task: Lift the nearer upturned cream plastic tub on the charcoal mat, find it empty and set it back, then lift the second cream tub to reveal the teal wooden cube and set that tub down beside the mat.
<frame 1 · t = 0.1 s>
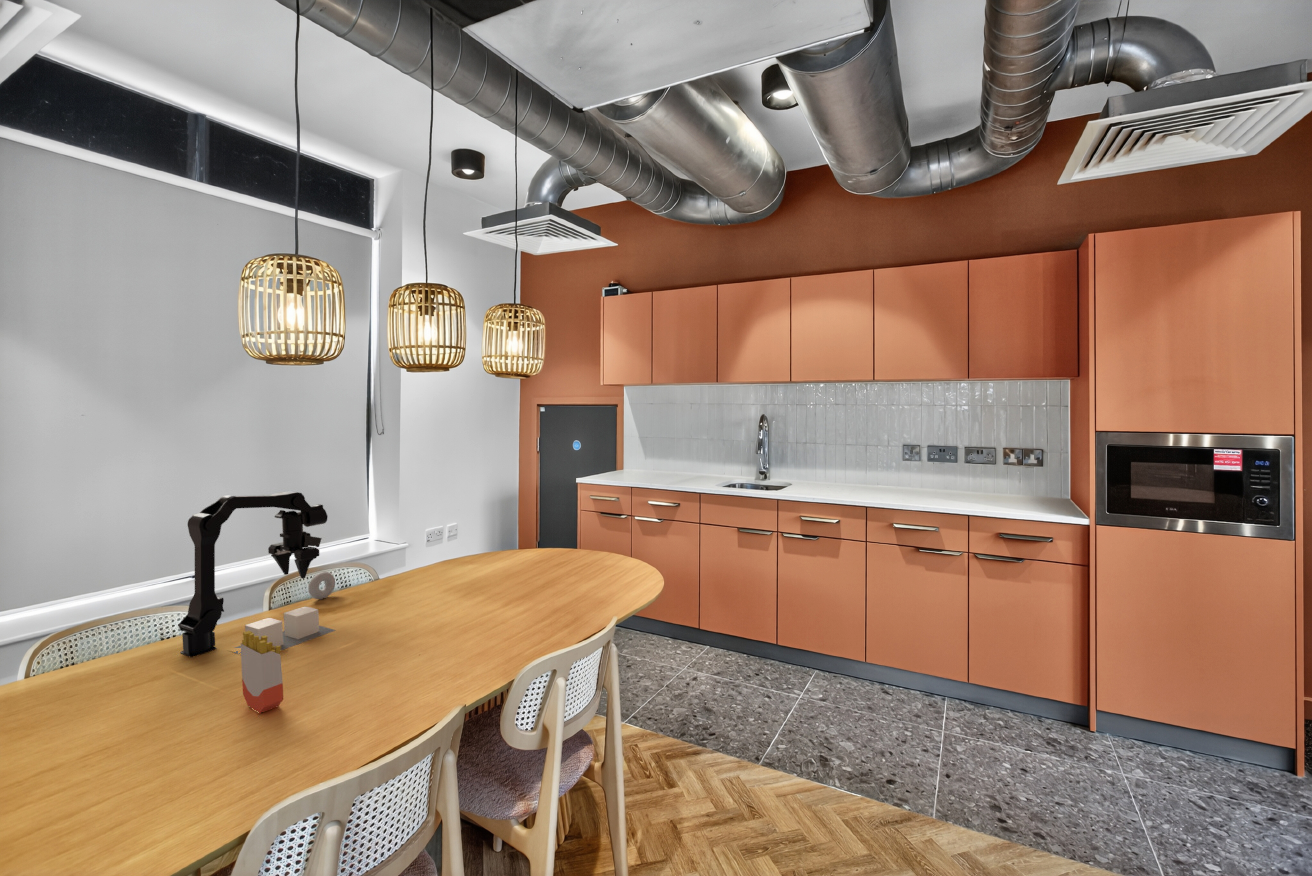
hand: (294, 576, 194), 15 cm above the table, tool pointing down, fingers open, 9 cm apart
tub b: (302, 633, 183), resting on mat
tub a: (264, 646, 173), resting on mat
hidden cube: (301, 626, 182), in the tub b, touching mat
mat: (283, 640, 178), on the table
donut: (322, 599, 215), on the table
french fries container: (264, 707, 140), on the table
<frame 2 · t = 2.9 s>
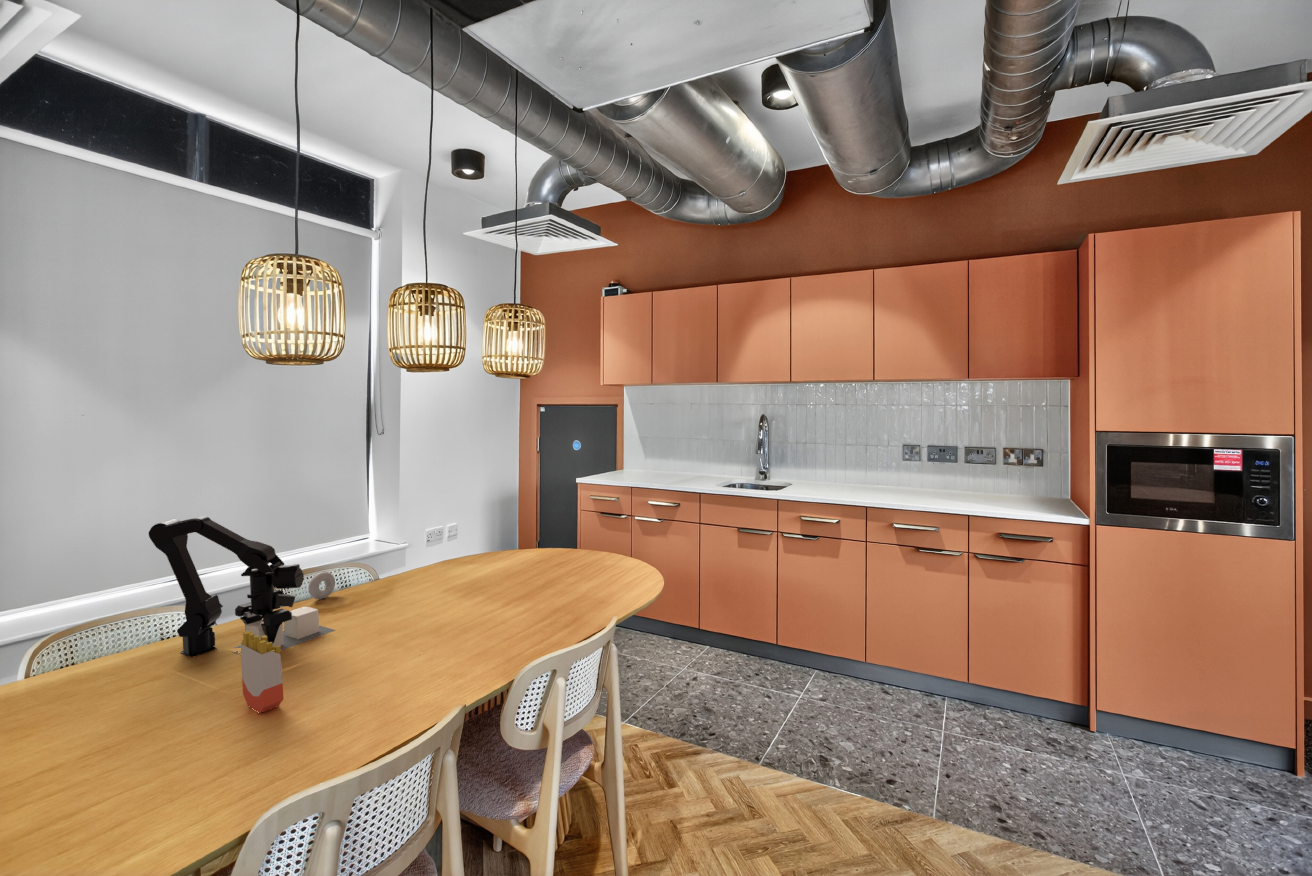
hand: (264, 641, 173), 2 cm above the table, tool pointing down, fingers closed on tub a, 7 cm apart
tub a: (264, 646, 173), resting on mat, touching gripper
everything else where it was.
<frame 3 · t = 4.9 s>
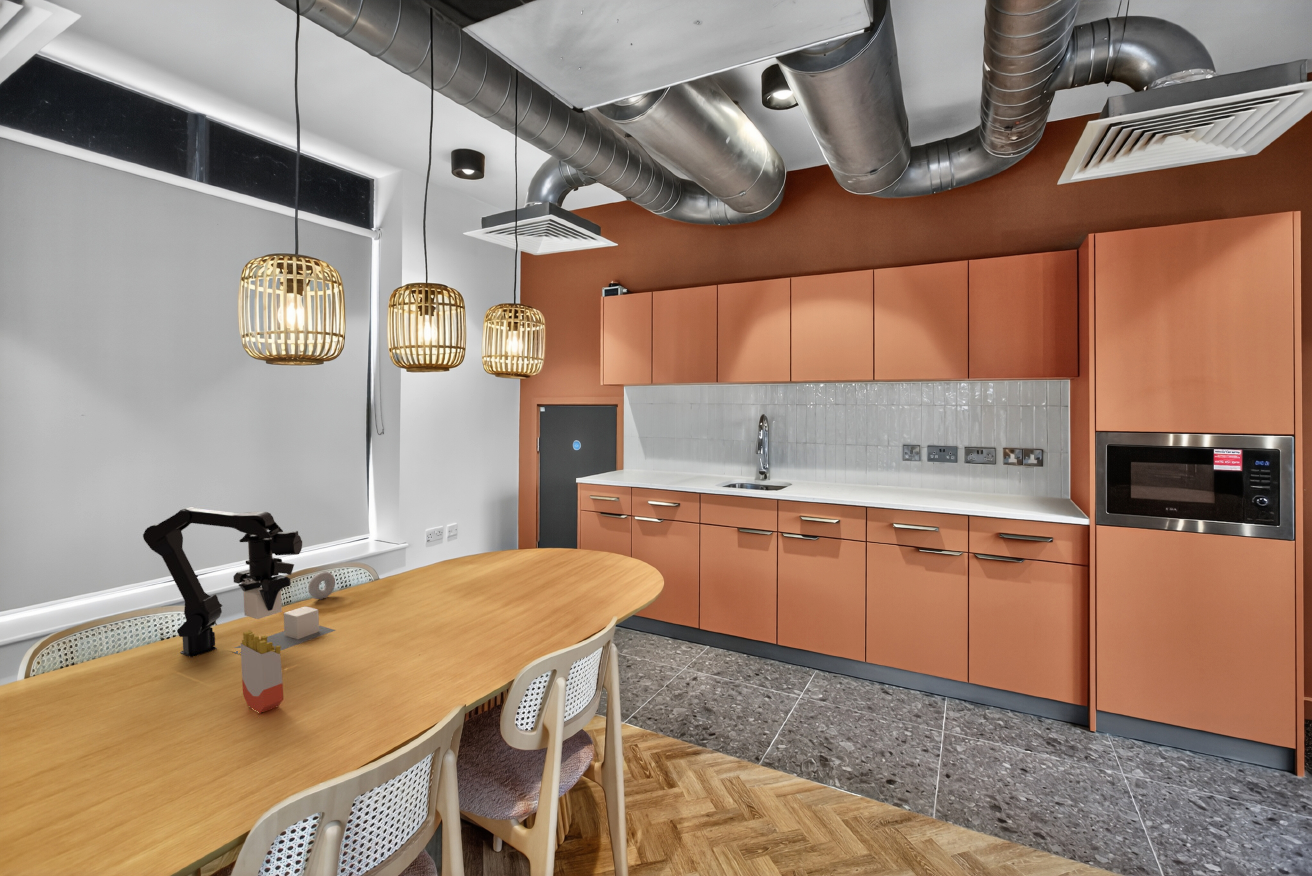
hand: (263, 608, 172), 12 cm above the table, tool pointing down, fingers closed on tub a, 7 cm apart
tub a: (263, 613, 172), point 10 cm above the table, touching gripper
everything else where it was.
when the fingers open (3 cm above the table, at t = 7.3 s): tub a drops 1 cm, resting on mat.
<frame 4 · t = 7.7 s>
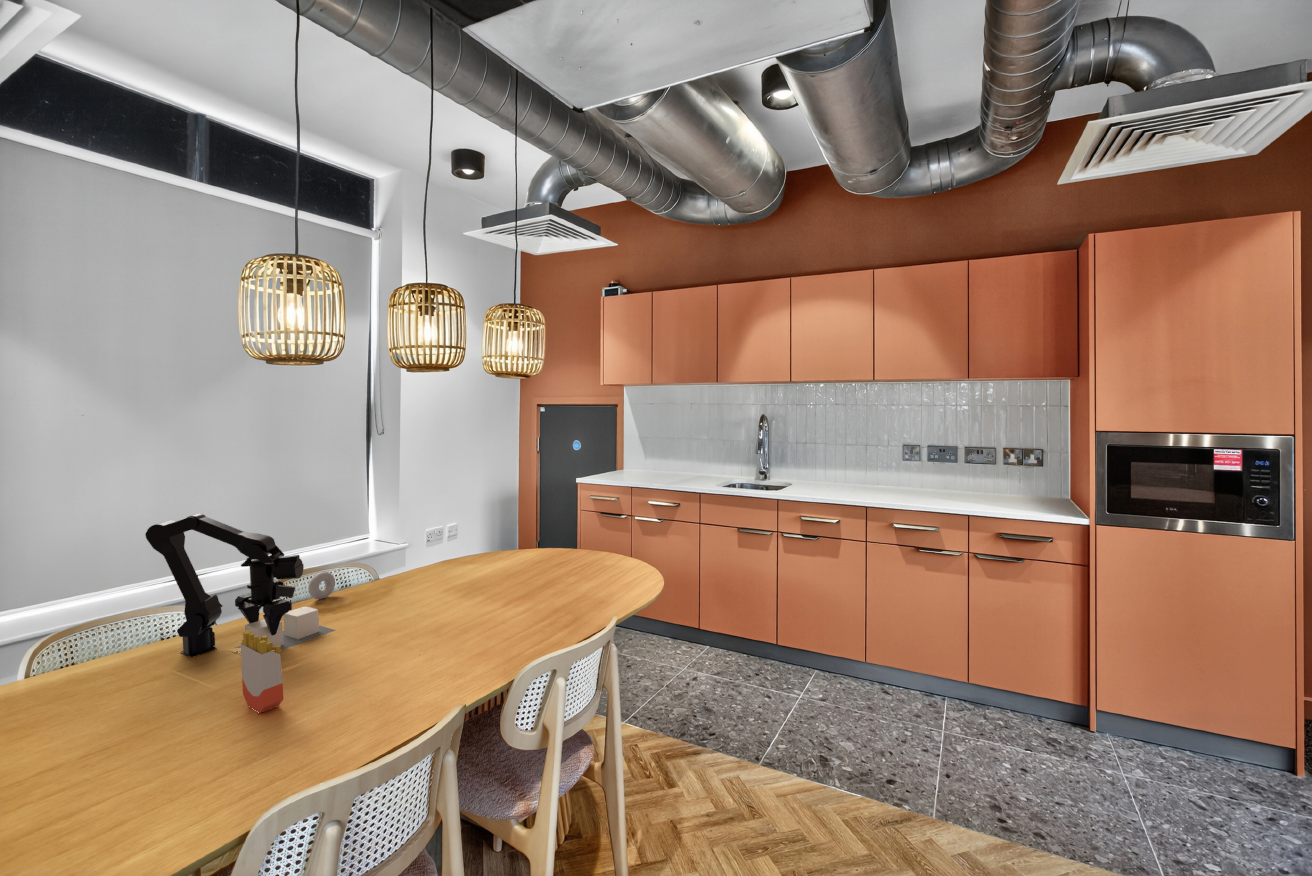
hand: (264, 632, 173), 5 cm above the table, tool pointing down, fingers open, 9 cm apart
tub a: (264, 646, 173), resting on mat
everything else where it was.
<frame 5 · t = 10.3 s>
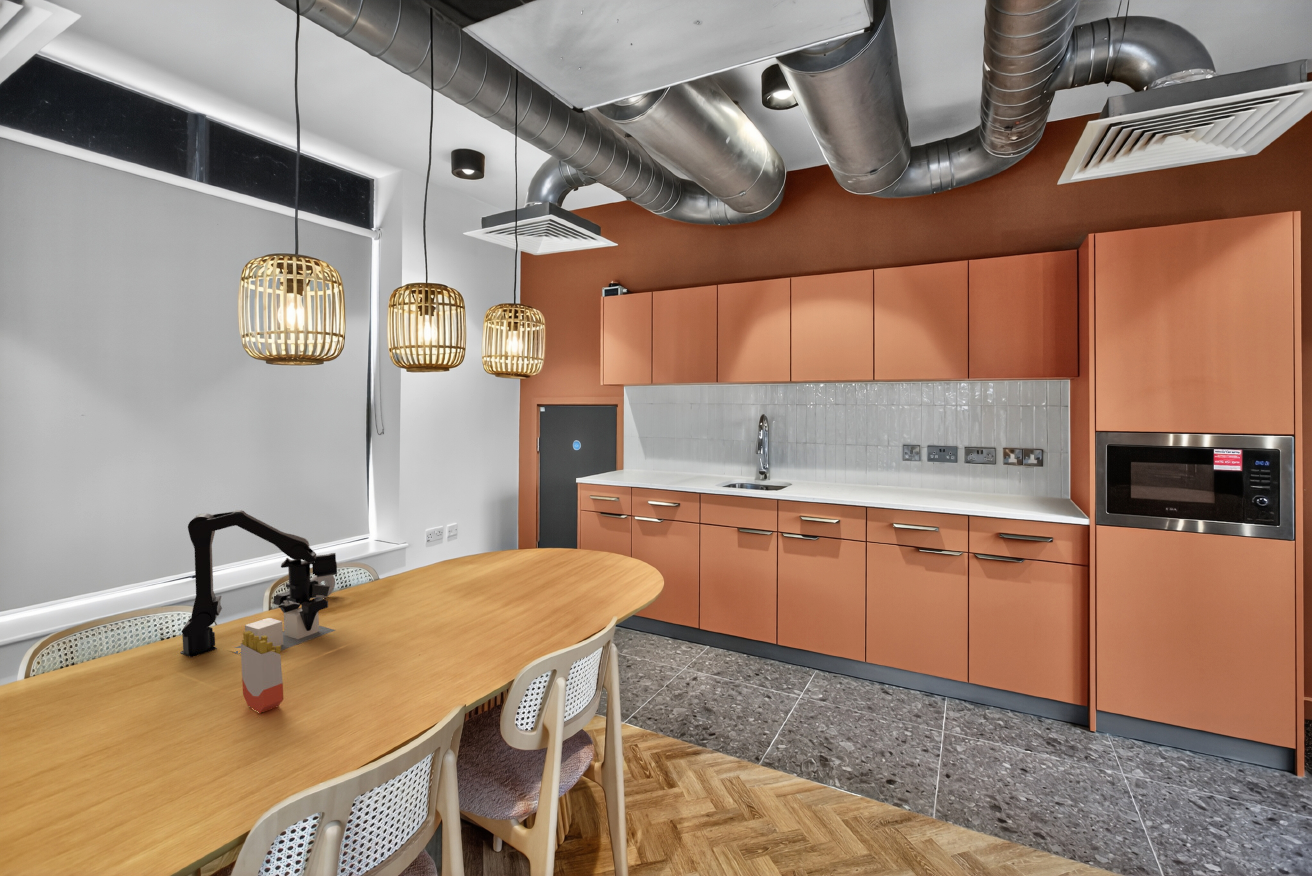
hand: (301, 628, 183), 2 cm above the table, tool pointing down, fingers closed on tub b, 7 cm apart
tub b: (302, 633, 183), resting on mat, touching gripper
everything else where it was.
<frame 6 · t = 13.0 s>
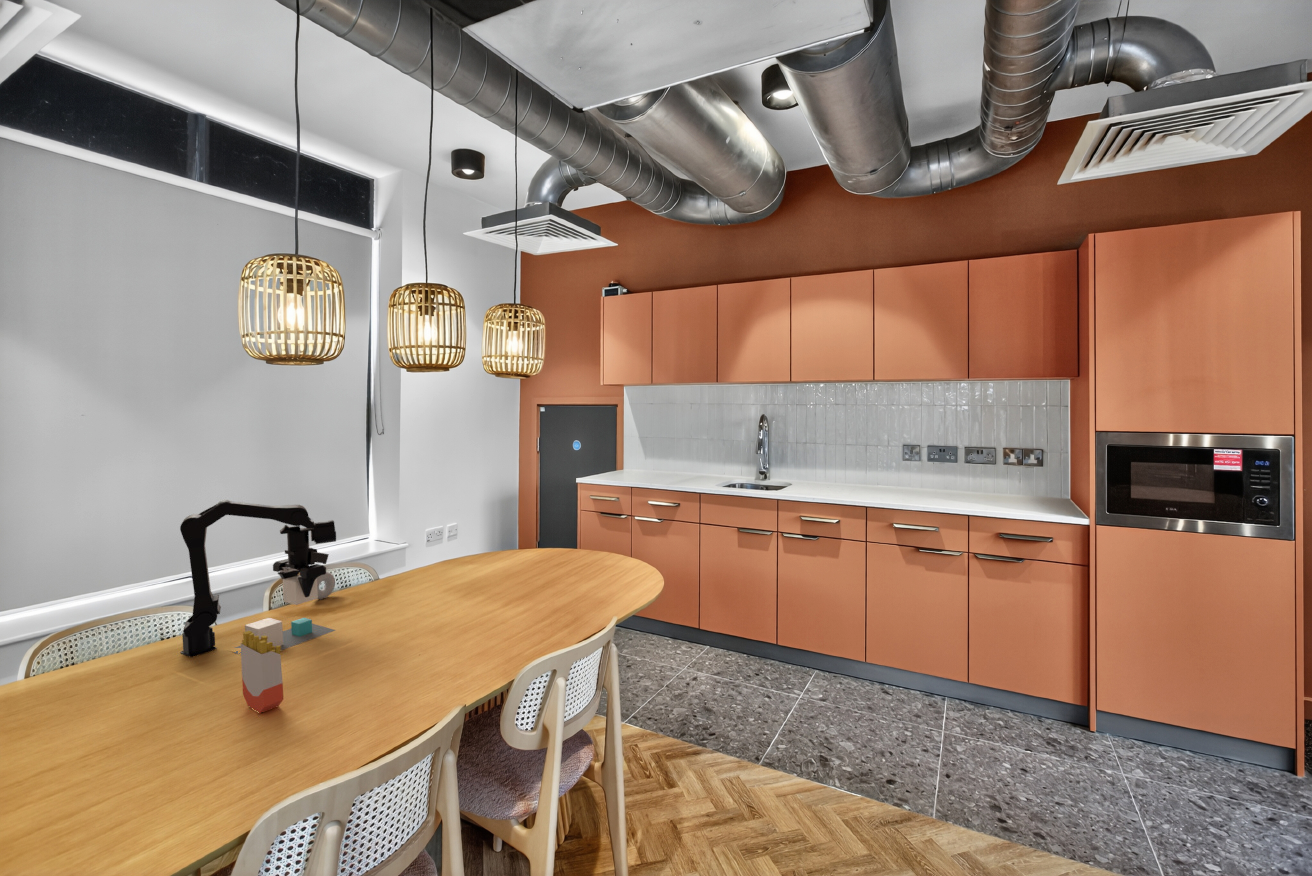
hand: (300, 595, 184), 12 cm above the table, tool pointing down, fingers closed on tub b, 7 cm apart
tub b: (300, 599, 184), point 10 cm above the table, touching gripper
everything else where it was.
when the fingers open (3 cm above the table, at t = 15.9 s): tub b drops 1 cm, on the table.
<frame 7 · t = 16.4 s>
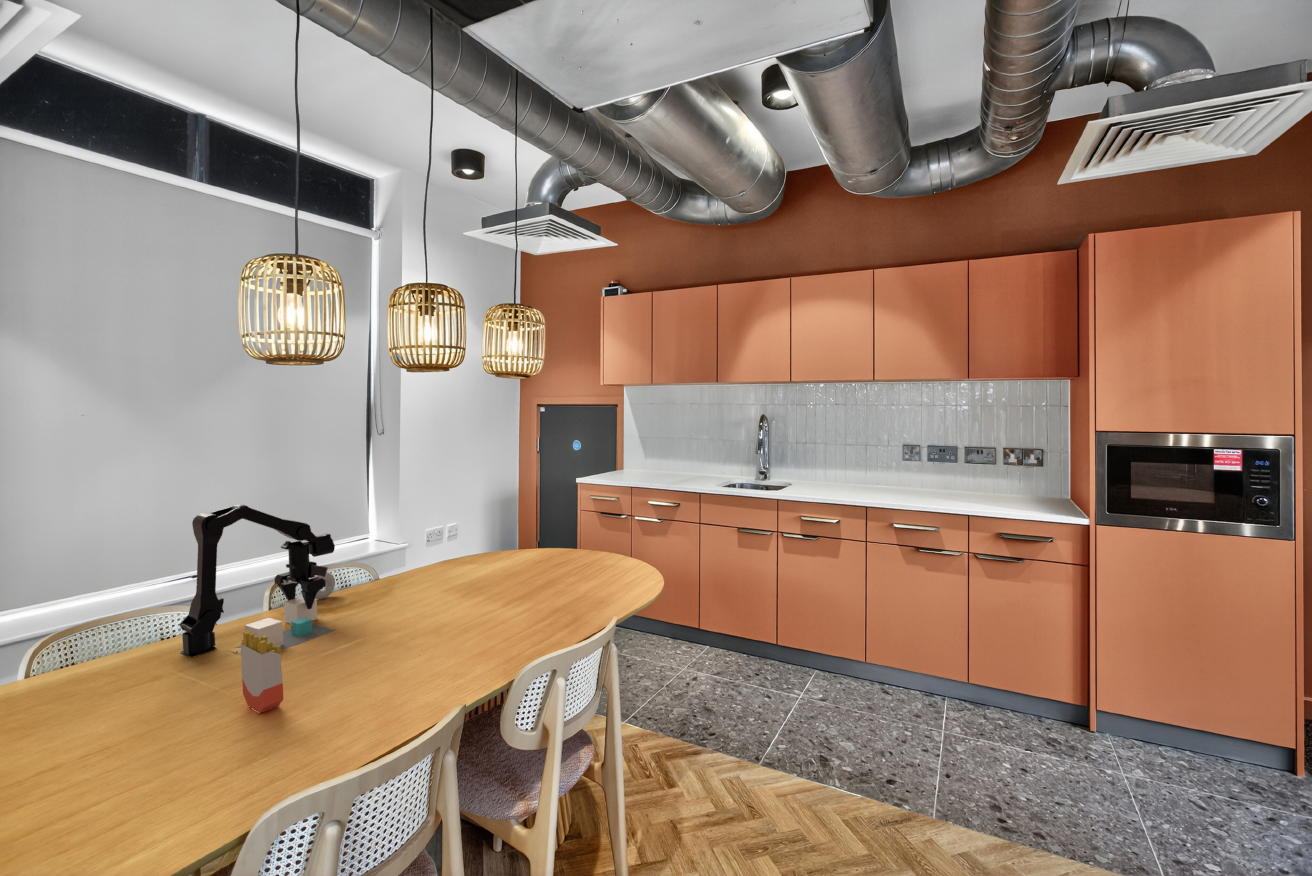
hand: (301, 606, 193), 5 cm above the table, tool pointing down, fingers open, 9 cm apart
tub b: (301, 621, 193), on the table
everything else where it was.
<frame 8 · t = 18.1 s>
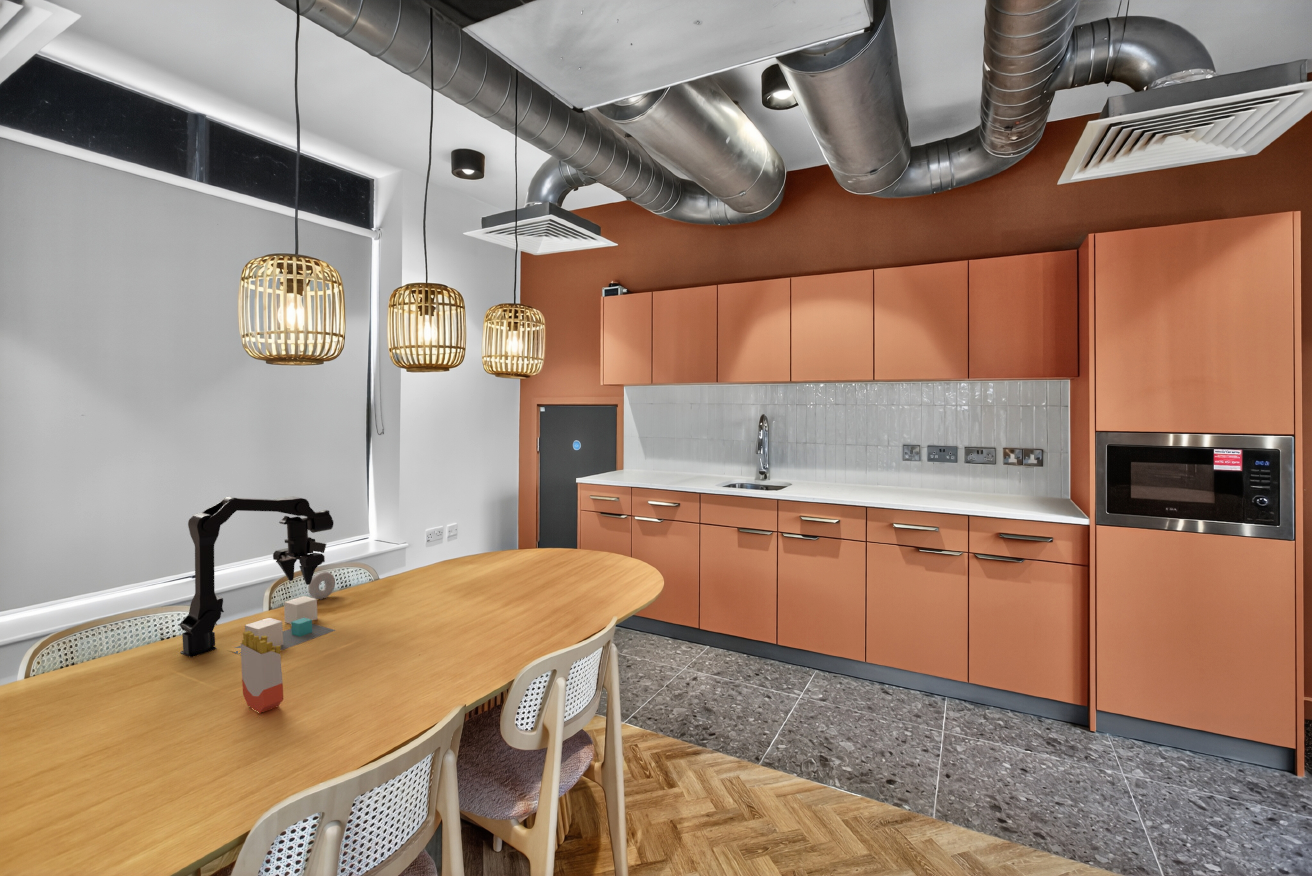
hand: (299, 582, 193), 13 cm above the table, tool pointing down, fingers open, 9 cm apart
nothing on the table moved.
at the end: tub b inside the target area (0.0 cm from its centre), on the table; tub b tilted 0°; tub a moved 0.0 cm from its start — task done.
